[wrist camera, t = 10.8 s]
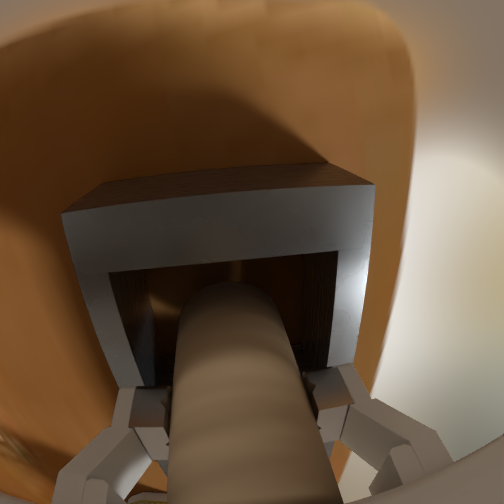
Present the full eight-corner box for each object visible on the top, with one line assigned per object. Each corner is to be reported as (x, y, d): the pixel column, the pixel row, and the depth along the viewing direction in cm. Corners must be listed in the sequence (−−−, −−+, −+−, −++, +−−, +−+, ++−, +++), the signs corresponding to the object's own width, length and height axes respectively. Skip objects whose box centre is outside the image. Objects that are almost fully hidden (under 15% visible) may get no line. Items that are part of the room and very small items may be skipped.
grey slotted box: (101, 183, 12) (56, 216, 8) (329, 162, 13) (380, 187, 9) (190, 470, 21) (191, 516, 17) (305, 458, 22) (317, 502, 18)
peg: (158, 327, 12) (132, 523, 5) (230, 261, 11) (265, 478, 4) (230, 376, 14) (252, 547, 6) (299, 322, 13) (371, 502, 6)
